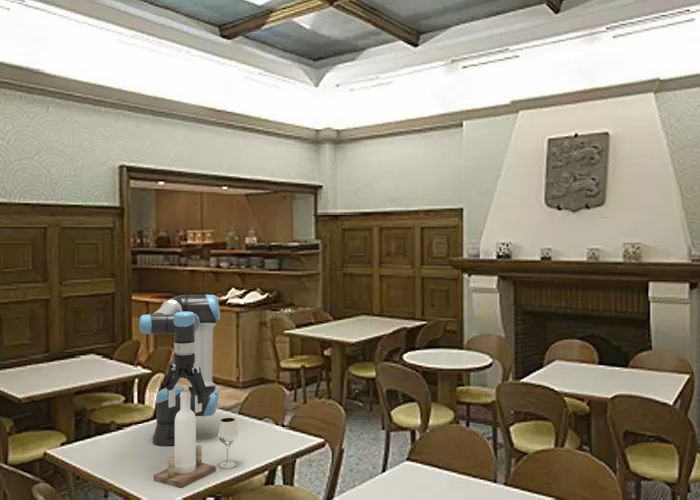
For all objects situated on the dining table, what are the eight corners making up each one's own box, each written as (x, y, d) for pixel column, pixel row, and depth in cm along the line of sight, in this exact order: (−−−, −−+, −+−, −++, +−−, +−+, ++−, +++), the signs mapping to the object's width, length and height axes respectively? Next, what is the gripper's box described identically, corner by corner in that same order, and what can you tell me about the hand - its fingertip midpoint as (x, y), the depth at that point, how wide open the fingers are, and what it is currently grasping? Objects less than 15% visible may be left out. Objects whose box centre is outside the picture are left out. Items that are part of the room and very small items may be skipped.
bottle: (199, 471, 223) (199, 391, 223) (178, 476, 219) (178, 394, 219) (191, 464, 230) (191, 387, 230) (171, 469, 226) (171, 390, 225)
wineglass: (218, 461, 239) (218, 417, 238) (239, 461, 239) (239, 416, 239) (216, 469, 230) (215, 423, 230) (237, 468, 231) (237, 422, 231)
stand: (153, 480, 220) (153, 456, 220) (189, 464, 236) (188, 441, 236) (181, 488, 213) (181, 463, 213) (215, 471, 229) (215, 447, 229)
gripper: (153, 351, 227) (153, 406, 227) (202, 358, 214) (202, 416, 215) (168, 348, 233) (168, 402, 234) (216, 354, 221) (217, 411, 221)
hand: (185, 409), depth 224 cm, fingers open, 13 cm apart
